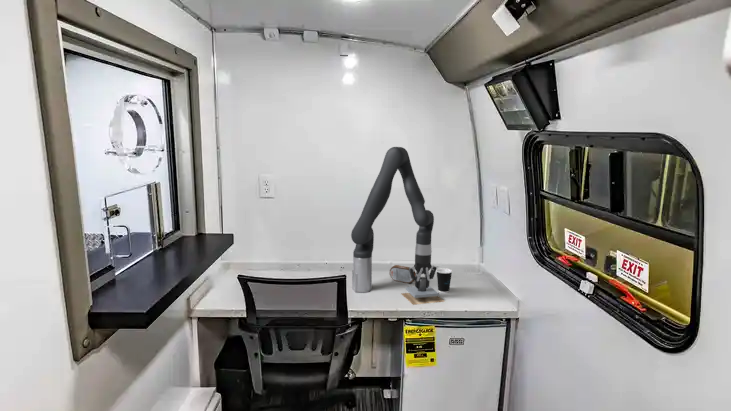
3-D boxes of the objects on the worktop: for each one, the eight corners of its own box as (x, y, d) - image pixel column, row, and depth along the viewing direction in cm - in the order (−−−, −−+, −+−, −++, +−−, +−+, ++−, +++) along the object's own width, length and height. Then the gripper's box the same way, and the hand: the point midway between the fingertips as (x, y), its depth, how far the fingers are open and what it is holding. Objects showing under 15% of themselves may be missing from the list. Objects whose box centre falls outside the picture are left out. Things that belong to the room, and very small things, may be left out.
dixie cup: (449, 295, 226) (450, 273, 225) (433, 293, 230) (434, 271, 228) (453, 290, 234) (454, 269, 232) (437, 288, 237) (438, 267, 235)
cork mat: (412, 305, 212) (413, 304, 212) (400, 294, 227) (400, 293, 227) (445, 302, 217) (445, 301, 217) (430, 291, 232) (430, 290, 232)
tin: (416, 283, 245) (416, 267, 244) (413, 285, 242) (414, 269, 241) (391, 278, 253) (391, 263, 252) (388, 280, 250) (388, 265, 249)
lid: (414, 297, 214) (415, 282, 213) (405, 289, 226) (405, 275, 225) (438, 295, 218) (439, 280, 217) (428, 287, 229) (428, 273, 228)
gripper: (433, 250, 224) (432, 284, 227) (406, 251, 220) (405, 286, 223) (440, 253, 217) (439, 289, 220) (412, 255, 213) (410, 291, 216)
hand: (421, 287), depth 221 cm, fingers closed on lid, 4 cm apart
